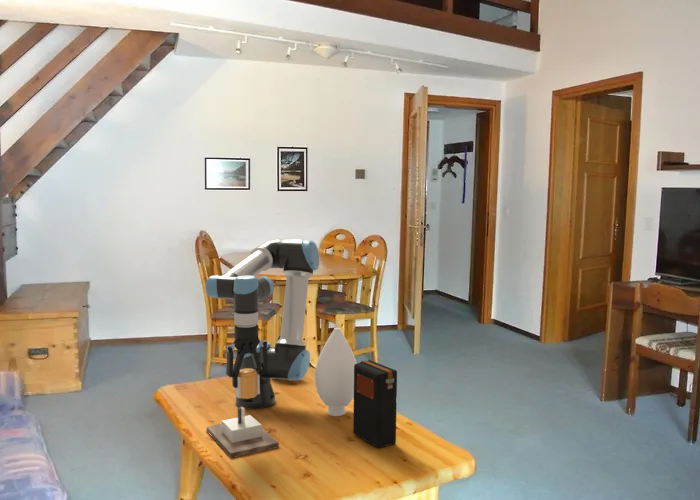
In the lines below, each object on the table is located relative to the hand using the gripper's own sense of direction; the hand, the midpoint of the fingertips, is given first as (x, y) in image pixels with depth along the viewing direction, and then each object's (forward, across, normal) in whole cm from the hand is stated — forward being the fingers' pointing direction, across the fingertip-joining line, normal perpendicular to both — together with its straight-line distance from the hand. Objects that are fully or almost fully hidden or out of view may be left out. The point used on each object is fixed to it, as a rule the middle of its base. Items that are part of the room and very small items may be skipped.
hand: (247, 394), depth 192 cm
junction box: (+15, +1, -4) cm, 15 cm away
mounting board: (+16, +1, -4) cm, 17 cm away
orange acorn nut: (0, 0, 0) cm, 0 cm away
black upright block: (+17, -37, +19) cm, 45 cm away
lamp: (+17, -38, -8) cm, 43 cm away
